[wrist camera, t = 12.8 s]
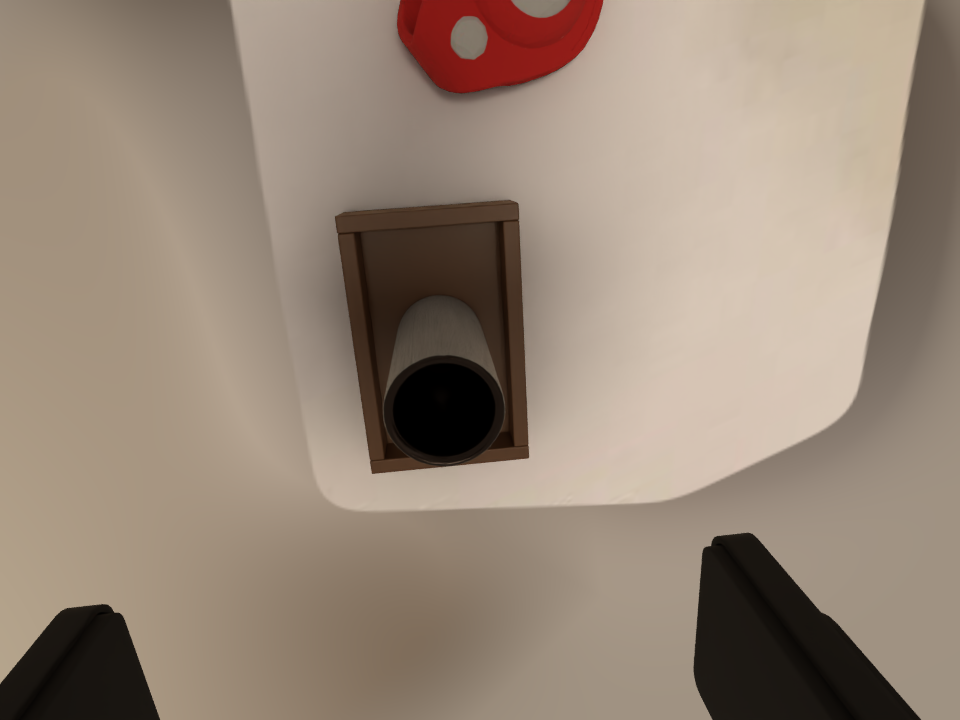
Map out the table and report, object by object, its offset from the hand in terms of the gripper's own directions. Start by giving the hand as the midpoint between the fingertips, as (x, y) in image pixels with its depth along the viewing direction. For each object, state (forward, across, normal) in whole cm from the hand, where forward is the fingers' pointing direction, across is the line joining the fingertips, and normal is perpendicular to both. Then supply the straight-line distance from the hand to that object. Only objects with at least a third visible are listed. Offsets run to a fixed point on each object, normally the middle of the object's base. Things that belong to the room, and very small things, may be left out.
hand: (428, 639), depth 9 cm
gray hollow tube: (+22, 0, +2) cm, 22 cm away
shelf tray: (+23, 0, +2) cm, 23 cm away
